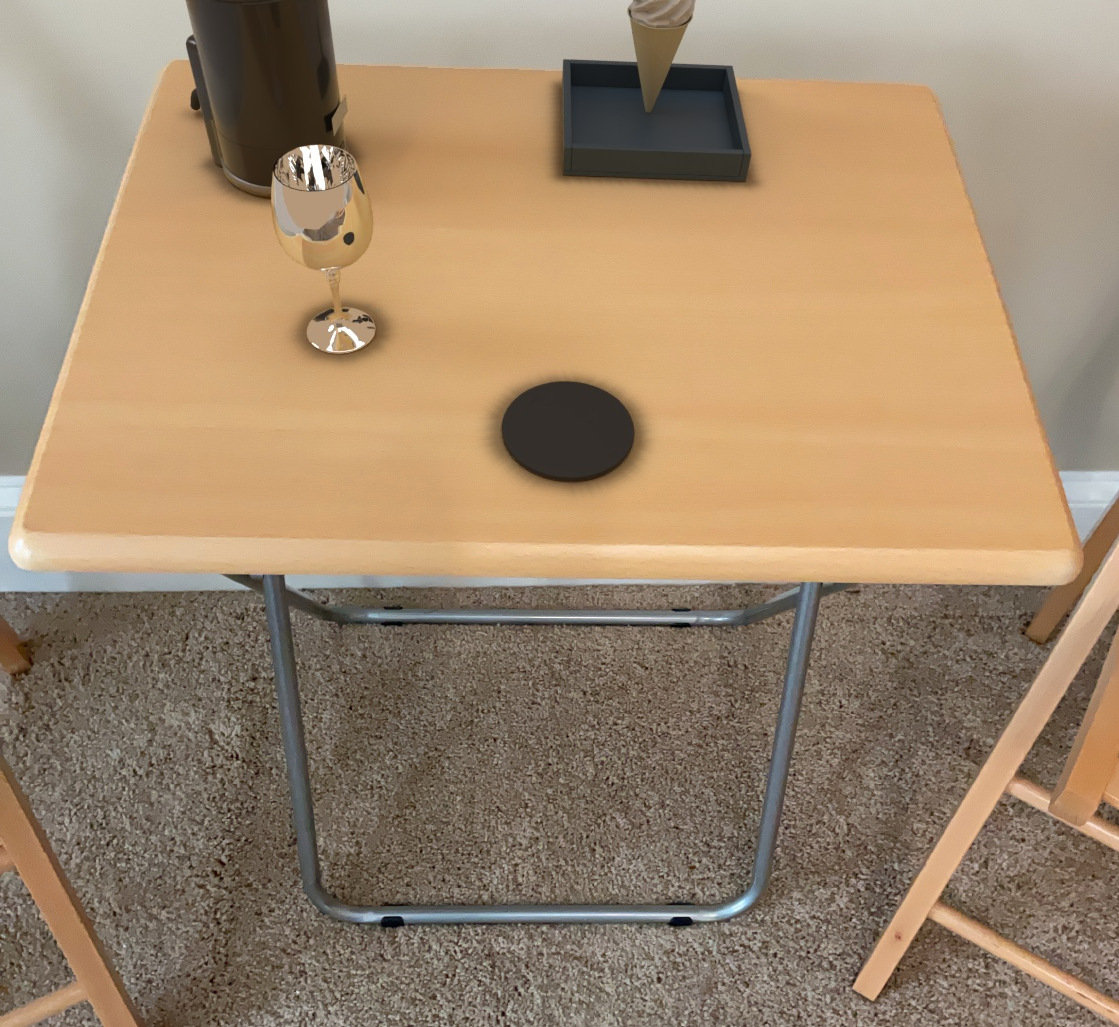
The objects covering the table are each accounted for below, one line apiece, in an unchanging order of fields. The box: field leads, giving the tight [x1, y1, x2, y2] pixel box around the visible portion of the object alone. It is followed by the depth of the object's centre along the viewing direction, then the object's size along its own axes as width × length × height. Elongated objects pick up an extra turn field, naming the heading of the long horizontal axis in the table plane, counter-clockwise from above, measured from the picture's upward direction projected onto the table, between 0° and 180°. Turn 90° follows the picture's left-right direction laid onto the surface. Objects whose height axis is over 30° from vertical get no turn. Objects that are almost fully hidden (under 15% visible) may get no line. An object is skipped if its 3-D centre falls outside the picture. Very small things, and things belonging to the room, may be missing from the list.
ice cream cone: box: [626, 0, 696, 113], centre depth 79 cm, size 5×5×15 cm
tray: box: [561, 58, 752, 183], centre depth 83 cm, size 14×13×2 cm
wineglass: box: [270, 145, 377, 355], centre depth 63 cm, size 6×6×12 cm
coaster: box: [501, 380, 635, 483], centre depth 63 cm, size 8×8×1 cm
